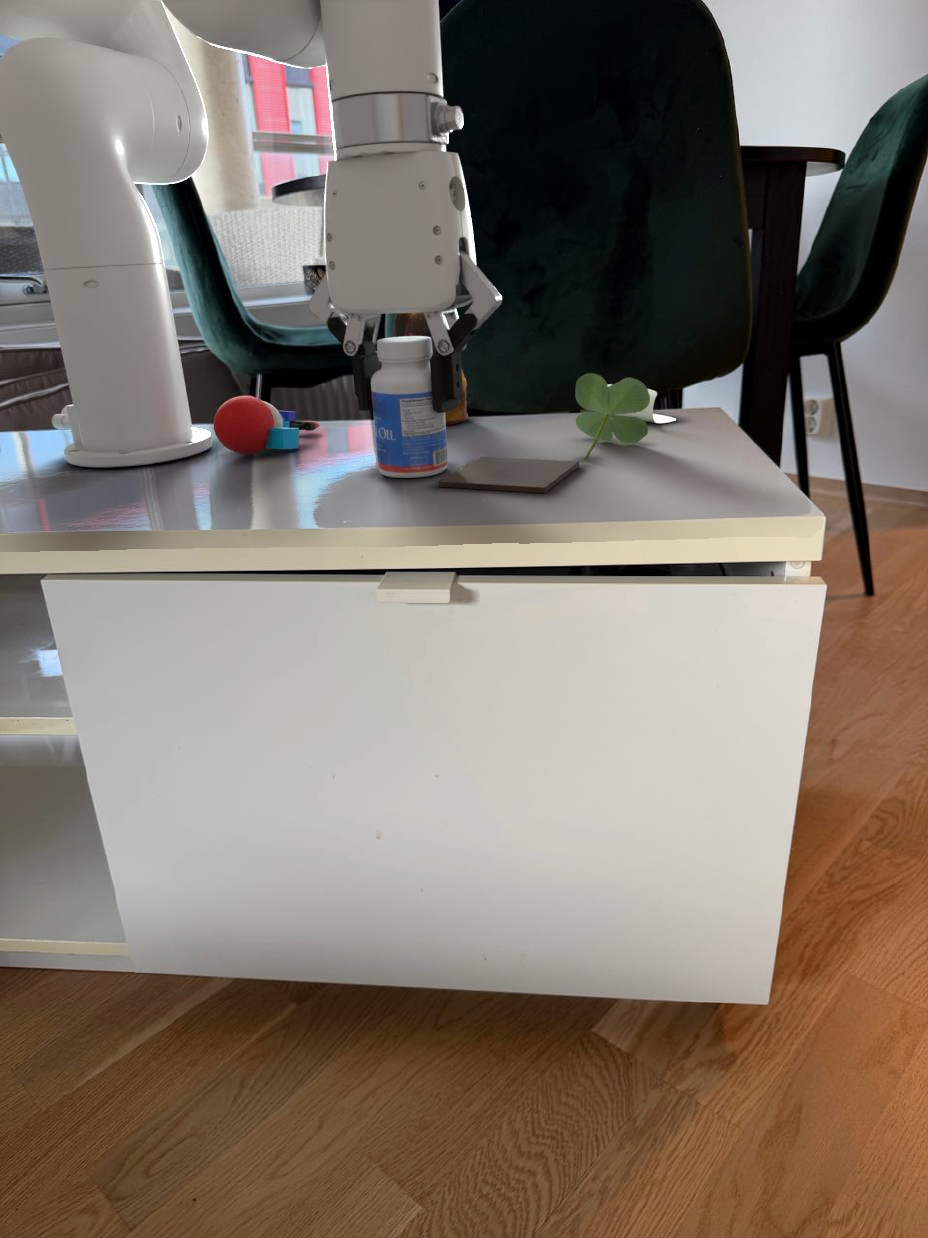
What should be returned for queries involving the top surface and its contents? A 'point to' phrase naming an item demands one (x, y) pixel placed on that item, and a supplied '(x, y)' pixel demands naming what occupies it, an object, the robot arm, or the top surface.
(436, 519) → the top surface
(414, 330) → the figurine
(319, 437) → the top surface
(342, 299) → the robot arm
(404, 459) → the pill bottle
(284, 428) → the toy figure
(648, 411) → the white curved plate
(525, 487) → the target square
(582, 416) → the green leafy piece
